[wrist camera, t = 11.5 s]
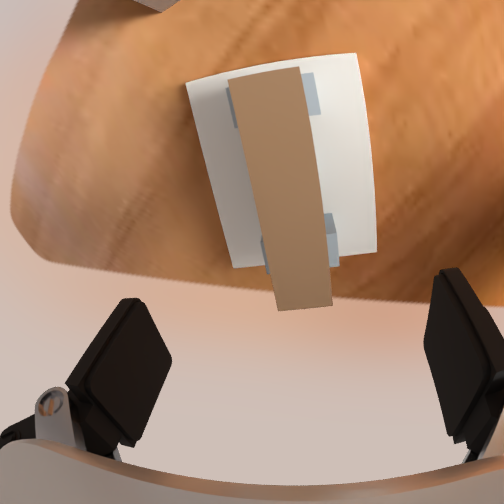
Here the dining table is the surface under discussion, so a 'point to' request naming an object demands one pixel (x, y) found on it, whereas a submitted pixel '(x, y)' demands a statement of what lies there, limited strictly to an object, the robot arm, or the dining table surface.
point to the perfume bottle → (158, 4)
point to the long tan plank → (285, 184)
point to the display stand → (326, 149)
